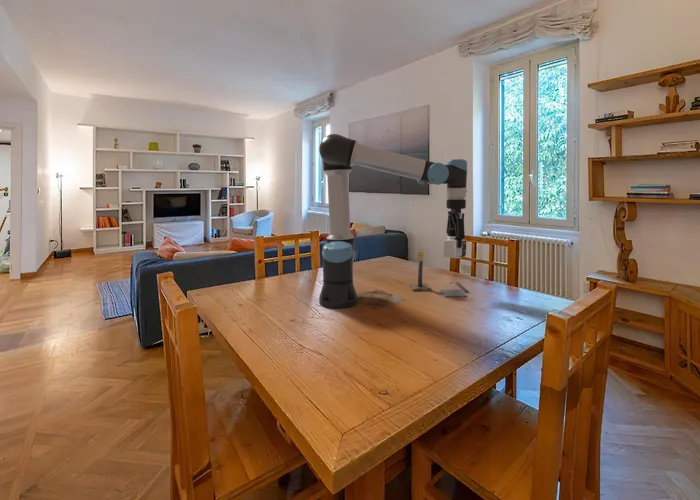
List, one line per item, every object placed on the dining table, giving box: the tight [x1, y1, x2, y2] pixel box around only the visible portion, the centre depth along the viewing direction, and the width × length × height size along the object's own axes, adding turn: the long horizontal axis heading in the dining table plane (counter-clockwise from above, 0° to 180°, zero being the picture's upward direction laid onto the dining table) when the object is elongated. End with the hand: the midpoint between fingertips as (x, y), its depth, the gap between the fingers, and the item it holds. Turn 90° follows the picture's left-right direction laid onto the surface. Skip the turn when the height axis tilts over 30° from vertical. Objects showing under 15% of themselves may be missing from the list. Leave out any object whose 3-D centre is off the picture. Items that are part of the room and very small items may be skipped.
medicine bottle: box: [442, 228, 467, 259], centre depth 156 cm, size 7×7×12 cm
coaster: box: [439, 289, 468, 298], centre depth 160 cm, size 9×9×1 cm
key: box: [416, 250, 427, 262], centre depth 170 cm, size 15×3×4 cm, turn 162°
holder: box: [409, 261, 469, 293], centre depth 168 cm, size 23×14×12 cm, turn 91°
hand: (454, 253), depth 157 cm, fingers closed on medicine bottle, 10 cm apart
